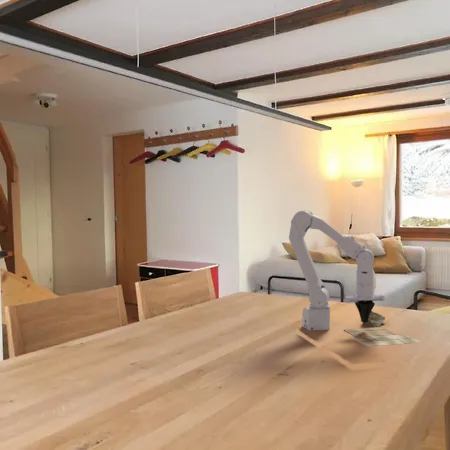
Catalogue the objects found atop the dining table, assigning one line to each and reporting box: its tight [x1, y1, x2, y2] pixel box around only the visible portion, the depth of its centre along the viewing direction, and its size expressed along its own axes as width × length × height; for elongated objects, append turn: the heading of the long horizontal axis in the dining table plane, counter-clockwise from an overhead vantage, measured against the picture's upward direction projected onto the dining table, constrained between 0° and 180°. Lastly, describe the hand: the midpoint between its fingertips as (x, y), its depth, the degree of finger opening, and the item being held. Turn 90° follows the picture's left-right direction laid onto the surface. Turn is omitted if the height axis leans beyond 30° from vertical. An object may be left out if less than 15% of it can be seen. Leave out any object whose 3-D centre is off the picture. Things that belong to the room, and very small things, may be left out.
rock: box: [362, 310, 386, 328], centre depth 184 cm, size 11×6×10 cm
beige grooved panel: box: [350, 333, 421, 348], centre depth 162 cm, size 20×10×2 cm, turn 104°
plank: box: [343, 326, 396, 338], centre depth 171 cm, size 15×9×2 cm, turn 104°
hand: (364, 322), depth 173 cm, fingers closed
